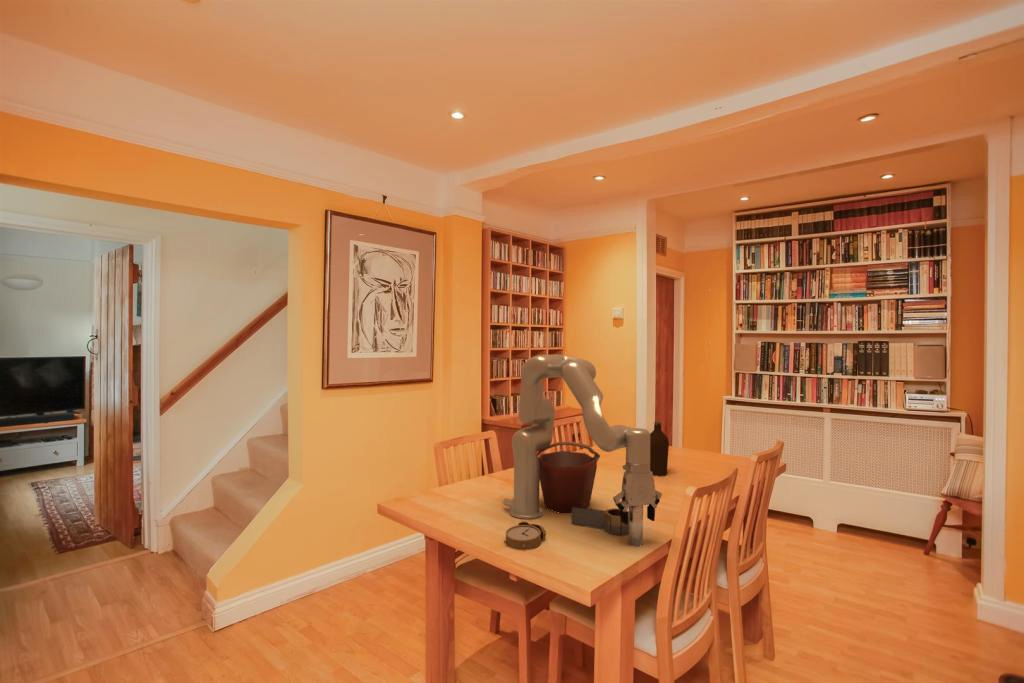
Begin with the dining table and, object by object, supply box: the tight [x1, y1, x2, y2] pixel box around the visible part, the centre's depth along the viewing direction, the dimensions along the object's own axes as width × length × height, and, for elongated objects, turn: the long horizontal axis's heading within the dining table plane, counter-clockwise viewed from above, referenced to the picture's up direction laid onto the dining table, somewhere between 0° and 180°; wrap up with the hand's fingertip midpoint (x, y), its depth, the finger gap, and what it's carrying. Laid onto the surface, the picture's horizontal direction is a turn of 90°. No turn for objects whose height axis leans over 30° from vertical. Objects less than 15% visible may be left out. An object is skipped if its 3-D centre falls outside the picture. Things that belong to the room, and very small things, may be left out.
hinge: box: [570, 500, 629, 536], centre depth 179 cm, size 20×20×6 cm
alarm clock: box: [503, 520, 546, 551], centre depth 162 cm, size 11×5×15 cm
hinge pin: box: [627, 505, 644, 547], centre depth 161 cm, size 4×4×14 cm
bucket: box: [537, 441, 601, 514], centre depth 194 cm, size 24×22×25 cm
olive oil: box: [650, 421, 670, 476], centre depth 245 cm, size 11×11×25 cm
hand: (637, 521), depth 161 cm, fingers open, 9 cm apart
